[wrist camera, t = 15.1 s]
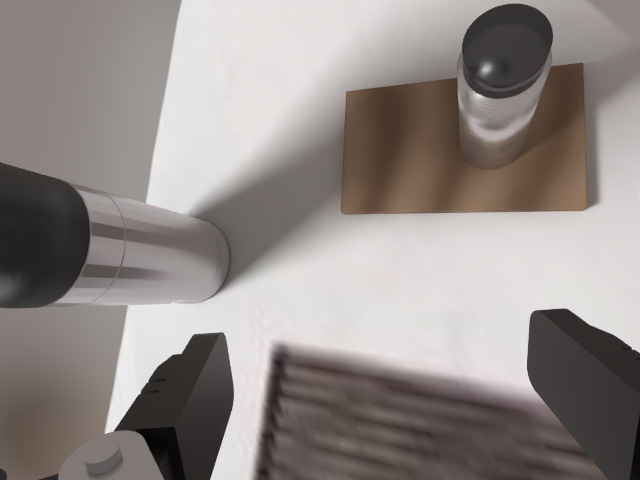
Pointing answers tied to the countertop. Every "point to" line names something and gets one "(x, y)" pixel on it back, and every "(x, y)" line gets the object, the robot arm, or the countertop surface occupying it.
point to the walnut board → (446, 158)
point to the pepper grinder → (501, 82)
